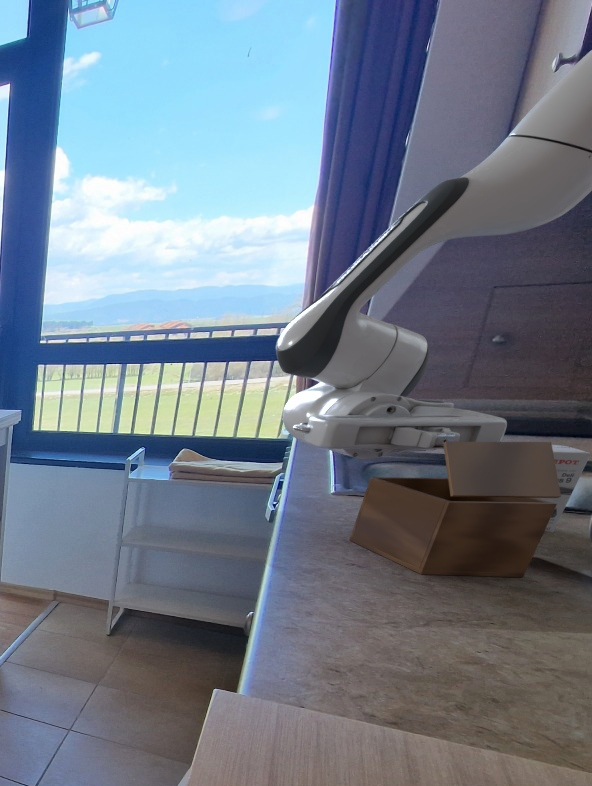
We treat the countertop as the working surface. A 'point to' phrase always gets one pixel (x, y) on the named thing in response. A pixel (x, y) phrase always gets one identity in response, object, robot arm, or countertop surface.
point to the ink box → (565, 478)
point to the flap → (501, 469)
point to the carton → (449, 528)
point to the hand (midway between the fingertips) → (444, 441)
